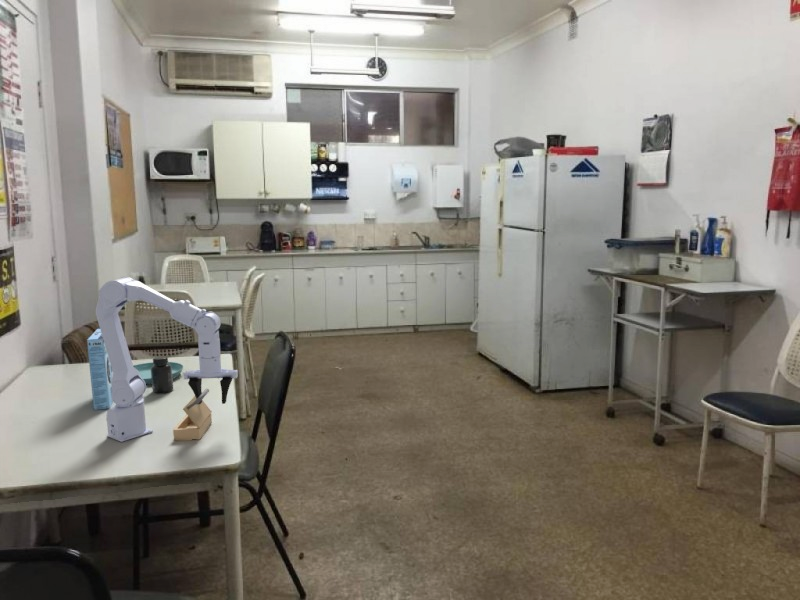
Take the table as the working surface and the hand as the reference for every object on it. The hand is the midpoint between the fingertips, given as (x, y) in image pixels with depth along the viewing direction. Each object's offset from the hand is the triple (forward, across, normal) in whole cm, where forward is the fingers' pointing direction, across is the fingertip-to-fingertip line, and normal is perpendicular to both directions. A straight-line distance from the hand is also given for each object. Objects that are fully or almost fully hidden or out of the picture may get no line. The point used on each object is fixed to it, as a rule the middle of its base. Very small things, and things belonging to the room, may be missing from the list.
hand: (212, 402), depth 171 cm
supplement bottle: (+9, +28, -41) cm, 50 cm away
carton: (+8, +6, 0) cm, 10 cm away
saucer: (+9, +38, -59) cm, 71 cm away
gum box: (+9, +43, -32) cm, 54 cm away
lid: (+2, +4, 0) cm, 5 cm away
